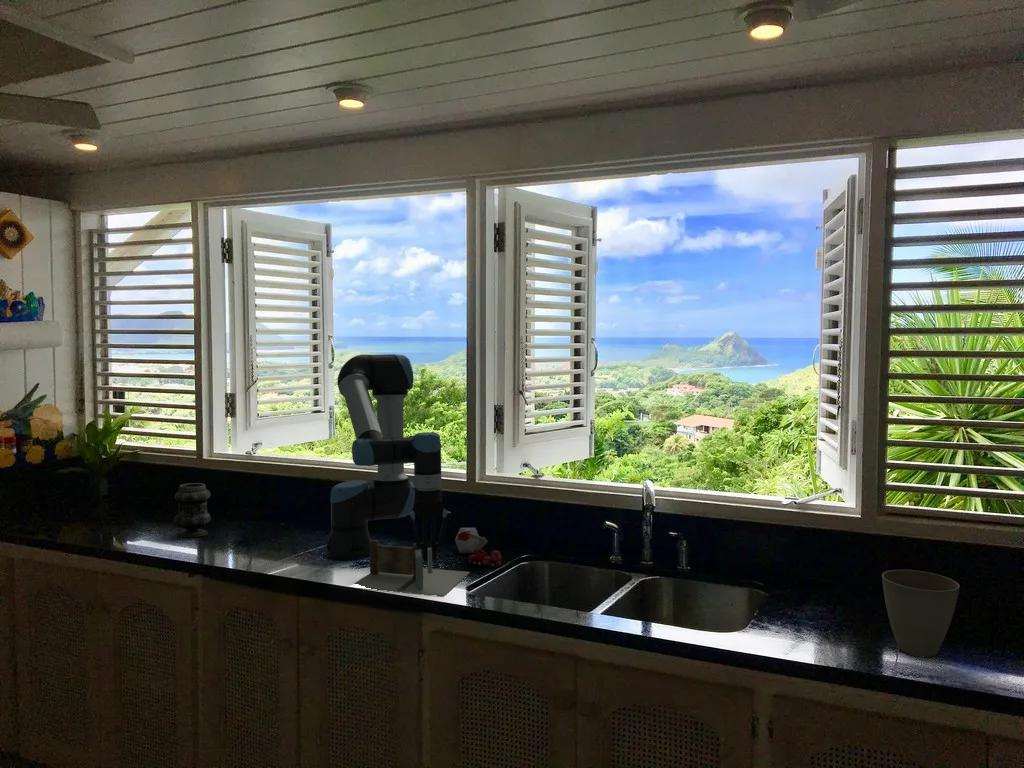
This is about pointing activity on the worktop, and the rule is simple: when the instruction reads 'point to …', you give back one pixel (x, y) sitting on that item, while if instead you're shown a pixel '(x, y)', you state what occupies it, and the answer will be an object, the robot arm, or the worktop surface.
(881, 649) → the worktop surface
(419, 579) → the green rectangular block
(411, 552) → the base
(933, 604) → the plant pot
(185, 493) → the dark grey urn vase
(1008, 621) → the worktop surface
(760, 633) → the worktop surface
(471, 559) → the toy fire truck
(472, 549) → the die
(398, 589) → the card
